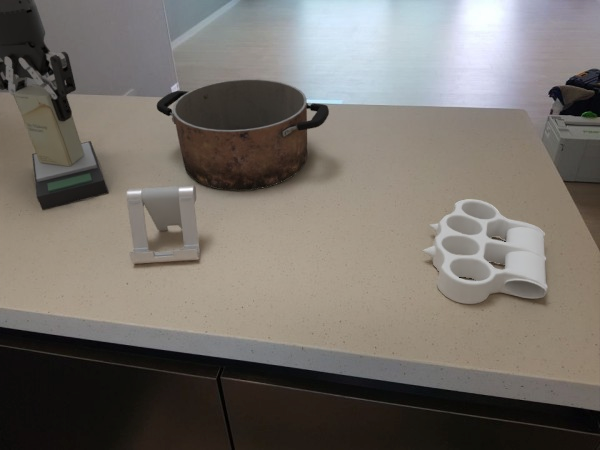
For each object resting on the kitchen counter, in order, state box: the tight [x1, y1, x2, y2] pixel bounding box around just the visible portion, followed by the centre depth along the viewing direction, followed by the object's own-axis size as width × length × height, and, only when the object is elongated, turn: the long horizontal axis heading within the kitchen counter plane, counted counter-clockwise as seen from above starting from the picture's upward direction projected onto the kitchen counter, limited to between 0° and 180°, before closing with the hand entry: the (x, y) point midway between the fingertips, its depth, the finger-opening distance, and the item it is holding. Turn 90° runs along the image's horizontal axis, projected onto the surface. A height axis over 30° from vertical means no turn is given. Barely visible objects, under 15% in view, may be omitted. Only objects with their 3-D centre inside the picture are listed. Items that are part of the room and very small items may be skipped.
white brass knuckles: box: [421, 198, 549, 305], centre depth 59 cm, size 3×18×15 cm
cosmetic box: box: [13, 83, 84, 166], centre depth 74 cm, size 6×4×12 cm
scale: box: [31, 140, 109, 211], centre depth 78 cm, size 16×10×3 cm, turn 28°
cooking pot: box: [156, 78, 330, 191], centre depth 80 cm, size 30×22×11 cm
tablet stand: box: [125, 185, 201, 265], centre depth 61 cm, size 9×8×8 cm
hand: (47, 116), depth 73 cm, fingers closed on cosmetic box, 6 cm apart
